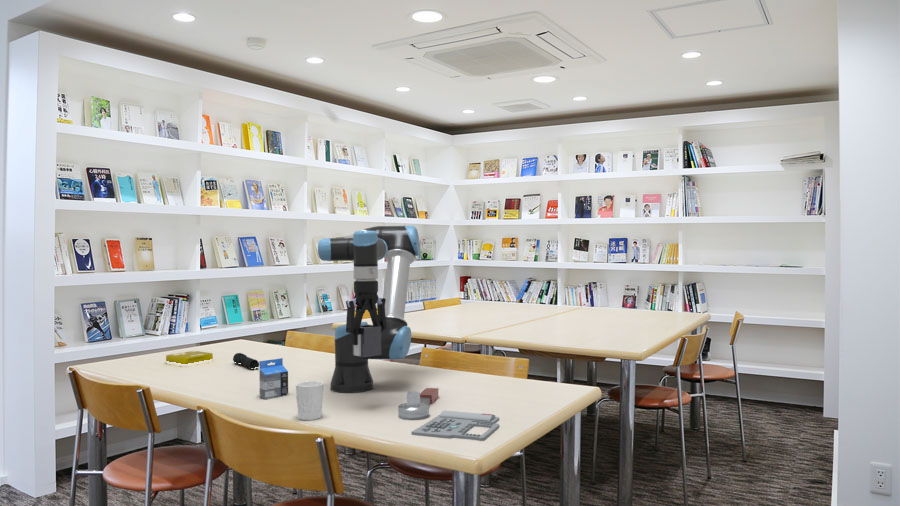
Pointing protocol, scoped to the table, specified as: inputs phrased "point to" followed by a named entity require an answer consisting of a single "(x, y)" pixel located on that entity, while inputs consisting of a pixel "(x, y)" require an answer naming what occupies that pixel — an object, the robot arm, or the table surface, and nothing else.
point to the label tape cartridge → (273, 379)
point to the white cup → (309, 400)
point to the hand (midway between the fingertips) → (366, 353)
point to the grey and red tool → (417, 404)
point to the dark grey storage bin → (370, 340)
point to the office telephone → (458, 425)
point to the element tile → (189, 357)
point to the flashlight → (245, 360)
